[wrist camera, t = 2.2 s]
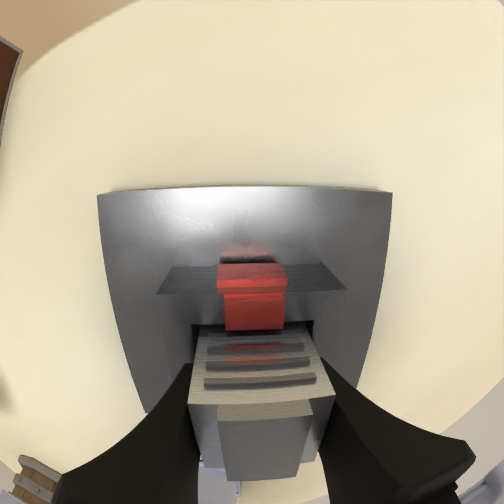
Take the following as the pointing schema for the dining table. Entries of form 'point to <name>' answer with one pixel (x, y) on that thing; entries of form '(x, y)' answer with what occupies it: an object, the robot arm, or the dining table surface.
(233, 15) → the dining table surface
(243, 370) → the block
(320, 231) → the base
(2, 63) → the food container
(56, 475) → the tankard
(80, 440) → the dining table surface
